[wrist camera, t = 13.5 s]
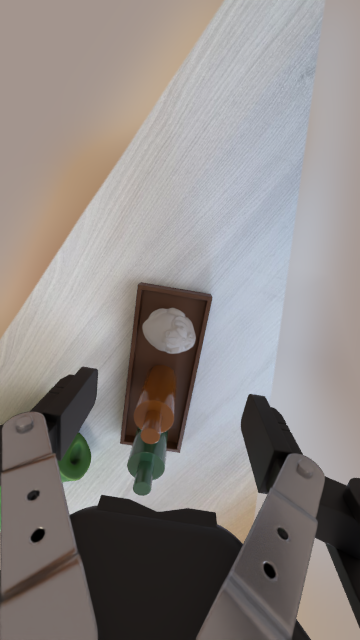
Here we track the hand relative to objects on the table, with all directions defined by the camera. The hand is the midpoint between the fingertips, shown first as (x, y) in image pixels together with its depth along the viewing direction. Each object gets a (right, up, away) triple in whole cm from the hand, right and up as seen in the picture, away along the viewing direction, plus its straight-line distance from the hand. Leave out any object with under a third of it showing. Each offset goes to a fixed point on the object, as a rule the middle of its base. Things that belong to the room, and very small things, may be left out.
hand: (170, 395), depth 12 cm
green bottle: (-4, -13, +28) cm, 31 cm away
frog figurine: (-1, +4, +23) cm, 23 cm away
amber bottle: (-2, -5, +25) cm, 26 cm away
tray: (-2, -4, +26) cm, 26 cm away
